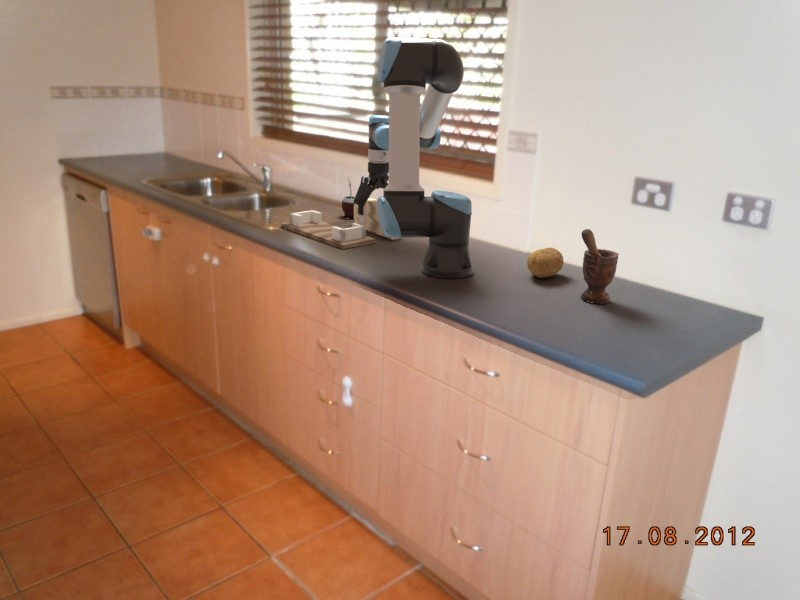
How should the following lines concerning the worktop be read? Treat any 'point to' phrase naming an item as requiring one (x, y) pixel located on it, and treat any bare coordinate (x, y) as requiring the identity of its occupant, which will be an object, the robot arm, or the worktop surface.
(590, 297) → the mortar and pestle
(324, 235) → the walnut board
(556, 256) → the potato
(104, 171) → the worktop surface
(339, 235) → the end caps
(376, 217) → the slat
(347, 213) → the mate gourd
